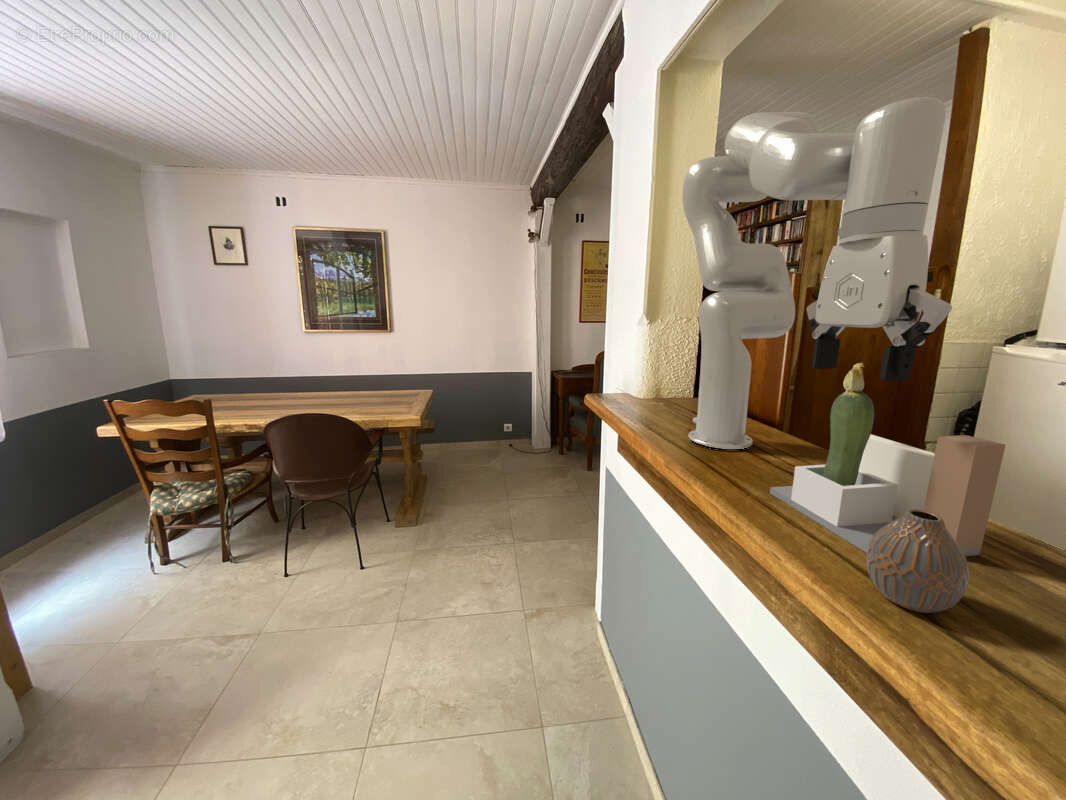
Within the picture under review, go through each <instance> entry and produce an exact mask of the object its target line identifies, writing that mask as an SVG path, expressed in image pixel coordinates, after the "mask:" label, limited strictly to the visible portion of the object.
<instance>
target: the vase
mask: <svg viewBox="0 0 1066 800" xmlns="http://www.w3.org/2000/svg"><path fill="white" fill-rule="evenodd" d="M865 560H866V561H865V563H866V569H867V571H868V576H869V578H870V580H871V582H872V583H873V585H874V586H875V588H876V589H877V590H879V591H878V592H880V593H881V594H882V595H883V596H884V598H886V599H887V600H889V601H890V602H892V603H894V604H896V605H898V606H900V607H901V608H904V609H906V610H910V611H913V612H916V613H917V612H918V613H923V614H931V613H932V614H933V613H939V612H943V611H946V610H949V609H950V608H951V609H952V607H953V606H955V605H956V604H958V603H959V601H960V600H961V599H962V598H963V596H964V595H965V593H966V591H967V588H968V584H969V580H970V579H969V578H970V571H969V564H968V560H967V556H965V554H964V553H963V551H962V549H961V548H960V546H959V545H958V543H957V542H956V541H955V539H954V538H953V537H952V536H951V534H950V533H949V532H948V530H947V528H946V526H945V523H944V521H943V519H942V518H941V517H940V516H938V515H937V514H934V513H932V512H928V511H925V510H919V509H909V510H907V511H906V512H905V513H904V514H903V515H902V516H901V517H900V518H898V519H896V520H894V521H892V522H891V523H889V524H887V525H885V526H883V527H882V528H880V529H879V530H878V531H877V532H876V533H875V535H874V536H873V538H872V539H871V541H870V543H869V545H868V549H867V553H866V558H865Z"/></svg>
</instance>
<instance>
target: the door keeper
mask: <svg viewBox="0 0 1066 800" xmlns="http://www.w3.org/2000/svg"><path fill="white" fill-rule="evenodd" d="M1006 446H1007V445H1006V444H1004V443H1001V442H1000V443H999V442H996V441H991V440H988V439H983V438H980V437H975V436H971V435H966V434H961V435H945V436H937V441H936V445H935V450H934V452H931V451H928V450H925V449H921V448H919V447H918V448H917V447H914V446H912V445H908V444H905V443H901V442H897V441H894V440H891V439H889V438H888V439H887V438H884V437H881V436H878V435H874V434H872V433H871V434H870V437H869V440H868V442H867V444H866V447H865V449H864V452H863V456H862V460H861V463H860V467H859V472H858V476H857V480H856V483H855V485H851V486H842V485H840V484H838V483H835V482H833V481H831V480H829V479H827V478H825V477H823V472H824V468H825V465H826V464H814V465H798V466H795V467H794V472H793V473H794V474H793V483H792V485H786V486H771V487H770V488H769V489H770V490H769V494H770V495H771V496H773V497H775V498H776V499H778V500H780V501H781V502H783V503H784V504H787V505H788V506H789V507H791V508H793V509H794V510H796V511H798V512H799V513H801V514H802V515H804V516H806V517H808V518H809V519H811V520H812V521H813V522H816V523H817V524H819V525H821V526H822V527H824V528H826V529H827V530H828V531H831V532H832V533H834V534H835V535H837V536H838V537H840V538H842V539H843V540H845V541H846V542H849V544H851V545H853V546H854V547H856V548H858V549H859V550H861V551H862V552H865V554H867V549H868V545H869V543H870V541H871V539H872V538H873V536H874V535H875V533H876V532H877V531H878V530H879V529H880V528H882V527H883V526H885V525H887V524H889V523H891V522H892V521H894V520H896V519H898V518H900V517H901V516H902V515H903V514H904V513H905V512H906V511H907V510H909V509H919V510H925V511H928V512H932V513H934V514H937V515H938V516H940V517H941V518H942V519H943V521H944V523H945V526H946V528H947V530H948V532H949V533H950V534H951V536H952V537H953V538H954V539H955V541H956V542H957V543H958V545H959V546H960V548H961V549H962V551H963V553H964V554H965V557H972V556H980V555H981V551H982V546H983V543H984V538H985V534H986V529H987V526H988V521H989V517H990V514H991V513H990V512H991V509H992V503H993V500H994V497H995V492H996V487H997V484H998V483H997V482H998V479H999V474H1000V470H1001V466H1002V462H1003V458H1004V457H1003V456H1004V453H1005V449H1006Z"/></svg>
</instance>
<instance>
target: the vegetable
mask: <svg viewBox="0 0 1066 800" xmlns="http://www.w3.org/2000/svg"><path fill="white" fill-rule="evenodd" d="M862 367H863V368H865V365H864V362H859V363H856V364H854V365H853V367H852V368H851V370H848V373H847V374H846V376H845V377H844V380H843V382H842V383H843V385H842V386H843V388H844V390H845V392H842V393H841V394H839V395H838V396H837V397H836V398H835V399H834V401H833V403H832V405H831V409H830V417H829V419H830V422H829V423H830V424H829V427H830V440H829V441H830V442H829V443H830V444H829V448H828V449H829V450H828V455H827V458H826V459H827V460H826V462H825V464H824V465H825V468H824V472H823V477H825V478H827V479H829V480H831V481H833V482H835V483H838V484H840V485H842V486H851V485H855V483H856V480H857V476H858V472H859V467H860V463H861V460H862V456H863V452H864V449H865V447H866V444H867V442H868V440H869V437H870V434H872V430H873V425H874V419H875V406H874V403H873V400H872V399H871V398H870V396H868V394H867V393H865V392H862V391H863V390H864V388H865V380H864V374H863V373H864V371H863V368H862Z"/></svg>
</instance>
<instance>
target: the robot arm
mask: <svg viewBox="0 0 1066 800" xmlns="http://www.w3.org/2000/svg"><path fill="white" fill-rule="evenodd" d="M946 111H947V109H946V104H945V103H944V102H943V101H942V100H941V99H940V98H936V97H931V96H922V97H914V98H913V97H912V98H907V99H903V100H899V101H895V102H892V103H890V104H886V105H884V106H882V107H879V108H877V109H875V110H873V111H871V112H870V113H869V114H868V115H866V116H865V117H863V118H862V119H861V121H860V123H859V124H858V126H857V127H856V129H855V132H821V133H818V132H819V131H818V123H817V121H816V119H815V118H814V116H813V115H811V114H809V113H807V112H804V111H803V112H802V111H785V112H784V111H781V112H780V111H775V112H774V111H771V112H769V111H765V112H763V111H762V112H761V111H760V112H754V113H751V114H747V115H745V116H743V117H741V118H740V119H739V120H737V121H735V123H734V124H733V125H732V126H731V128H730V129H729V130H728V133H727V134H726V137H725V140H724V152H725V155H724V156H723V155H722V156H721V155H720V156H711V157H705V158H702V159H700V160H698V161H696V162H694V163H693V164H692V165H691V166H690V167H689V168H688V170H687V172H686V173H685V176H684V180H683V183H682V184H683V185H682V207H683V212H684V215H685V218H686V221H687V223H688V225H689V227H690V230H691V232H692V235H693V238H694V243H695V251H696V257H697V263H698V270H699V274H700V279H701V282H702V283H701V284H702V285H703V286H704V288H706V289H707V290H709V291H713V292H715V293H712V294H710V295H708V296H707V297H705V299H704V300H703V301H702V302H701V304H700V306H699V312H698V313H699V314H698V319H699V320H698V321H699V330H700V337H701V338H700V339H701V340H700V341H701V346H700V347H701V348H700V350H701V352H700V354H701V355H700V357H701V358H700V371H699V373H700V374H699V389H698V401H697V415H696V417H693V418H692V422H693V424H696V425H695V430H694V429H693V430H691V431H690V432H688V435H687V436H688V437H689V438H690V439H691V440H692V441H694V442H696V443H699V444H702V445H705V446H709V447H715V448H722V449H743V450H745V449H744V448H747V449H749V448H748V447H750V446H751V445H752V446H753V442H754V441H753V439H752V437H750V436H748V435H747V434H746V428H747V418H748V417H747V415H748V406H749V394H750V385H751V374H752V358H751V354H750V352H749V351H748V349H747V347H746V346H745V344H744V343H743V339H744V340H746V339H771V338H778V337H781V336H783V335H785V334H787V333H788V332H789V331H791V329H792V327H793V324H794V322H795V318H796V306H795V305H796V304H795V299H794V293H793V290H792V285H791V281H790V276H789V271H788V266H787V262H786V258H785V256H784V254H783V253H782V251H781V250H780V248H779V247H777V246H775V245H773V244H770V243H747V242H743V241H742V240H741V237H740V233H739V227H738V224H737V221H736V220H735V219H734V217H733V216H732V215H731V214H730V212H729V211H728V210H726V209H725V208H724V207H723V206H722V205H721V204H720V203H754V202H758V201H762V200H764V199H766V198H767V197H770V198H773V199H777V200H782V201H825V200H827V201H843V202H844V203H843V210H842V216H841V222H840V223H841V225H840V228H839V229H838V230H837V236H838V243H837V244H838V245H834V246H833V247H832V249H831V251H830V254H829V256H828V259H827V262H826V264H825V269H824V271H823V276H822V279H821V282H820V288H819V293H818V295H817V296H818V298H817V300H815V301H814V302H812V303H811V304H809V305H808V306H807V307H806V313H807V317H808V320H809V321H808V326H809V328H810V330H811V331H812V335H811V336H812V338H813V339H814V340H815V343H814V349H813V357H812V363H811V367H812V368H813V369H817V370H820V369H834V368H836V367H837V365H838V359H839V352H840V348H841V347H840V346H841V338H837V337H838V336H839V334H841V332H842V331H844V330H845V329H846V328H860V329H861V328H862V329H863V328H864V329H865V328H866V329H872V328H875V329H876V328H880V327H882V329H883V331H884V332H885V333H886V336H887V337H888V338H889V340H890V342H891V343H892V345H886V346H885V349H884V352H883V358H882V362H881V363H882V364H881V367H880V374H879V379H880V380H881V381H883V382H905V381H908V380H910V378H911V374H912V370H913V367H914V366H913V365H914V359H915V356H916V350H917V346H922V345H923V344H925V342H926V340H927V339H928V338H929V337H930V336H932V335H933V334H934V333H936V332H937V331H938V330H939V327H940V325H941V324H942V322H944V320H945V319H946V318H947V317H948V315H949V314H950V313H951V311H952V310H953V305H952V304H950V303H949V302H947V301H945V300H943V299H941V298H940V297H937V296H935V295H933V294H931V293H929V292H927V291H926V290H927V282H928V274H929V273H928V270H929V242H928V235H927V234H924V231H925V230H924V229H925V225H926V221H927V220H926V219H927V215H928V214H927V213H928V210H929V205H930V199H931V194H932V189H933V184H934V178H935V172H936V169H937V168H936V167H937V163H938V157H939V152H940V148H941V142H942V137H943V133H944V127H945V121H946ZM922 312H923V314H921V313H922ZM921 315H922V316H921ZM920 317H921V318H920ZM919 319H920V320H919ZM688 437H687V438H688ZM752 446H751V447H752ZM751 447H750V448H751Z"/></svg>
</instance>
